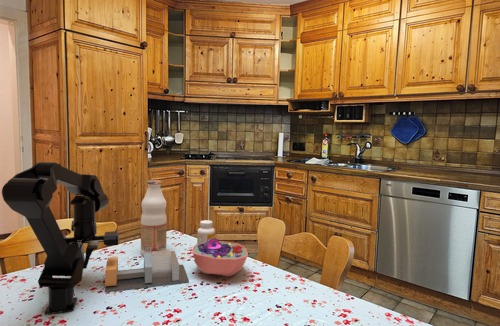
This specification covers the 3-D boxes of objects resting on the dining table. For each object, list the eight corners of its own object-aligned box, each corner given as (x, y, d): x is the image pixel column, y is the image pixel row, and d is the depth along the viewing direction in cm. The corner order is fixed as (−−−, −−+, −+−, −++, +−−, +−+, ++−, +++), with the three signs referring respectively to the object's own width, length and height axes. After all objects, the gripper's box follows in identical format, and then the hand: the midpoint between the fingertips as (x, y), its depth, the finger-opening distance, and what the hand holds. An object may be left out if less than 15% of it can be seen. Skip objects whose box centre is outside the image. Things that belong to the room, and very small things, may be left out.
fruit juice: (139, 258, 121) (139, 182, 119) (141, 249, 130) (142, 179, 128) (166, 257, 123) (166, 182, 121) (166, 248, 132) (167, 179, 130)
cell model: (225, 291, 98) (226, 254, 97) (180, 272, 110) (180, 239, 109) (258, 273, 112) (259, 240, 111) (215, 258, 124) (215, 229, 123)
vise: (188, 282, 103) (189, 263, 102) (104, 292, 95) (104, 272, 95) (183, 266, 115) (183, 249, 115) (108, 273, 107) (108, 256, 107)
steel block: (170, 276, 105) (171, 254, 105) (151, 278, 103) (151, 256, 103) (169, 271, 109) (169, 250, 109) (150, 272, 107) (150, 251, 107)
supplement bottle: (216, 252, 130) (216, 220, 129) (212, 258, 124) (213, 224, 123) (199, 250, 131) (200, 219, 130) (195, 256, 125) (195, 223, 123)
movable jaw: (151, 282, 100) (152, 266, 99) (105, 287, 95) (104, 271, 95) (150, 267, 111) (150, 253, 111) (108, 271, 107) (108, 256, 106)
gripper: (119, 209, 108) (119, 255, 110) (54, 212, 102) (55, 261, 103) (118, 217, 98) (118, 269, 99) (45, 221, 92) (46, 275, 93)
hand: (85, 268), depth 99 cm, fingers closed
